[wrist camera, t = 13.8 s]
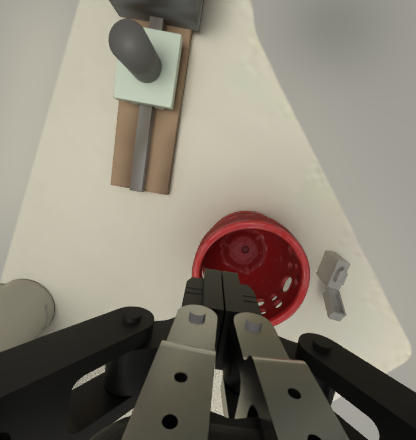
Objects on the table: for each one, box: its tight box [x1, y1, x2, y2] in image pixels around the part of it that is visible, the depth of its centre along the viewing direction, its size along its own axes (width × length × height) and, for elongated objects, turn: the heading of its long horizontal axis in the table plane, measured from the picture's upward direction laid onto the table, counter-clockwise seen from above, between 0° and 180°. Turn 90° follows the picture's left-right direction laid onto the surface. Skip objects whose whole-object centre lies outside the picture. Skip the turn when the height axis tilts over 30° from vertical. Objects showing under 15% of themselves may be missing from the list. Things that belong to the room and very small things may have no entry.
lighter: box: [316, 250, 350, 321], centre depth 38 cm, size 7×2×8 cm, turn 163°
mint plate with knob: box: [109, 19, 183, 110], centre depth 30 cm, size 7×8×10 cm
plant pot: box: [192, 211, 310, 326], centre depth 36 cm, size 13×13×12 cm
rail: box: [109, 0, 203, 195], centre depth 32 cm, size 11×28×12 cm, turn 170°
